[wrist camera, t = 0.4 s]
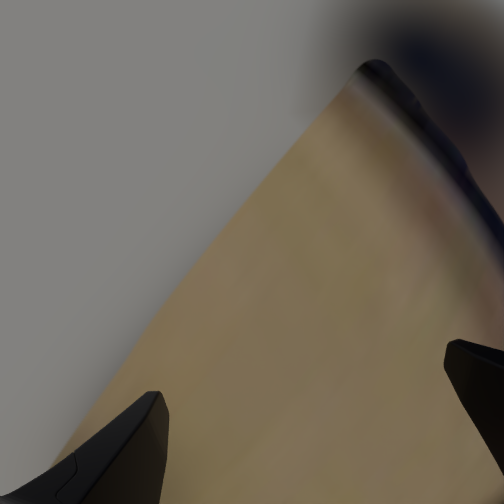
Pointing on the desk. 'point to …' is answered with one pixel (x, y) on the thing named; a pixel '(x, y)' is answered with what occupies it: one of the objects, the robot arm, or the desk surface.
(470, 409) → the robot arm
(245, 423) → the desk surface
